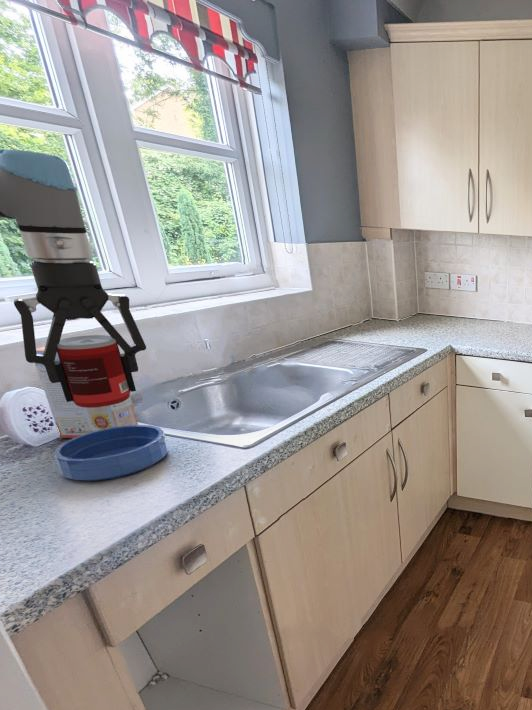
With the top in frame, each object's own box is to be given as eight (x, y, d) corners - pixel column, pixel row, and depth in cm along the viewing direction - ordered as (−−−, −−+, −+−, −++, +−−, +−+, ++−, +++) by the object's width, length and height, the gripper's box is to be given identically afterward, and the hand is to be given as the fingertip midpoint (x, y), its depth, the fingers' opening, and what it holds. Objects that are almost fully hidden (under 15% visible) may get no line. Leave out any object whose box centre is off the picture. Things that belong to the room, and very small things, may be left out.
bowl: (54, 492, 83) (46, 468, 81) (69, 456, 96) (62, 435, 94) (168, 469, 93) (162, 447, 91) (168, 439, 105) (163, 419, 103)
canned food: (121, 390, 86) (105, 333, 82) (139, 399, 82) (124, 340, 78) (66, 400, 79) (46, 339, 76) (83, 411, 76) (63, 347, 72)
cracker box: (142, 431, 108) (118, 346, 101) (119, 442, 102) (93, 352, 95) (84, 427, 108) (56, 342, 101) (59, 438, 103) (27, 349, 95)
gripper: (-38, 262, 63) (17, 414, 71) (149, 262, 77) (177, 388, 85) (-36, 258, 67) (15, 401, 75) (140, 258, 82) (167, 378, 90)
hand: (101, 394), depth 80 cm, fingers closed on canned food, 8 cm apart
